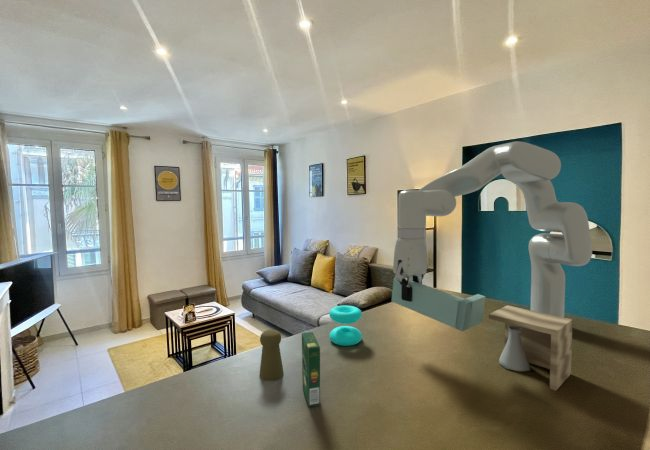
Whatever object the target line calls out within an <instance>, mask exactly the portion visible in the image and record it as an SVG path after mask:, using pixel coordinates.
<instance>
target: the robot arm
mask: <svg viewBox="0 0 650 450" xmlns="http://www.w3.org/2000/svg"><path fill="white" fill-rule="evenodd" d="M561 168H562V162H561V159H560V158H559V156H558V154H556V153H555V152H553V151H551V150H549V149H546V148H543V147H541V146H538V145H536V144H532V143H528V142H525V141H517V140H516V141H512V142H511V141H510V142H506V143H502V144H498V145H493V146H491V147H488V148H487V149H485V150H484V151H482V152H481V153H479V154H477V155H476V156H475V157H474V158H472V159H471V160H469V161H468V162H466V163H465V164H463V165H462V166H460V167H458V168H456V169H454V170H452V171H449V172H448V173H446V174H444V175H441V176H439V177H437V178H436V179H433V180H432V181H429V183H427V184H425V185H424V186H422V187H420V188H419V189H418V190H417V189H412V190H411V189H407V190H402V191H400V192H399V193H398V199H397V201H398V202H397V209H398V212H397V219H398V220H397V239H396V241H395V246H394V253H393V267H392V269H393V271H392V272H393V274H394V278H395V279H396V280H398V281H399V282H400V286H402V294H401V298H402V300H405V301H409V302H411V301H412V287H411V281H414V282H417V283H420V284H423V279H424V277H425V275H426V274H427V273H428V271H427V270H428V249H427V242H426V241H427V238H426V237H427V232H426V231H427V217H428V216H429V217H446V216H449V215H450V214H452V213H453V212H454V211H455V209H456V207H457V199H456V197H459V196H463V195H464V196H465V195H468V194H471V193H474V192H476V191H479V190H480V189H482V188H483V187H484V186H486V185H488V184H489V183H490V182H491V181H492V180H494V179H495V178H497V177H499V176H500V175H501V174H502V177H503V178H504V179H505V180H507V181H508V182H511V183H513V184H515V185H516V186H517V187H518V188H519V189H520V191H521V192H522V194H523V198H524V202H525V208H526V214H527V218H528V223H529V226H530V227H531V228H532V229H534V230H536V231H542V232H543V233H538V234H535V235H534V236H532V237H531V238H530V240H529V241H528V253H529V254H528V255H529V260H530V268H531V270H530V272H531V275H530V278H531V279H530V308H529V310H532V311H536V312H541V313H545V314H550V315H555V316H559V317H564V318H565V302H566V301H565V300H566V299H565V298H566V295H565V294H566V274H565V271H564V269H563V266H562V265H566V266H571V267H582V266H585V265H587V264H588V263H590V261H591V259H592V256H593V245H592V239H591V232H590V225H589V218H588V214H587V212H586V210H585V208H584V207H583V206H582V205H580V204H579V203H577V202H569V201H563V202H562V201H560V202H559V201H558V200H557V196H556V192H555V188H554V185H553V182H552V181H551V180H553V179H554V178H556V177H558V175H559V173H560V172H561ZM544 232H548V233H544ZM550 232H553V233H550ZM558 233H559V234H558ZM560 233H561V234H560ZM406 279H407V280H406Z"/></svg>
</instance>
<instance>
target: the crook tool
mask: <svg viewBox="0 0 650 450" xmlns="http://www.w3.org/2000/svg"><path fill="white" fill-rule="evenodd" d="M405 279H406V280H407V278H405ZM392 281H393V282H392V283H393V284H392V291H391V303H395V304H396V305H399V306H401V307H404V308H406V309H409V310H411V311H414V312H415V313H418V314H420V315H422V316H425V317H428V318H430V319H432V320H435V321H437V322H439V323H442V324H444V325H446V326H449V327H451V328H454V329H455V330H458V331H461V332H465V331H466V330H468V329H471V328H473V327H474V326H477V325H479V324H481V323H483V318H484V310H485V305H486V298H487V296H485V295H482V294H481V293H477V294H473V295H471V296H468V297H467V298H466V297H465V298H464V297H461V296H458V295H455V294H452V293H449V292H446V291H444V290H440V289H438V288H435V287H432V286H428V285H426V284H423V283H422V284H420V283H417V282H414V281H411V287H412V301H411V302H409V301H405V300H402V298H401V294H402V286H400V282H399V281H398V280H396V279H395V277H394V278H393V280H392Z"/></svg>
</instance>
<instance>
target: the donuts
mask: <svg viewBox="0 0 650 450" xmlns="http://www.w3.org/2000/svg"><path fill="white" fill-rule="evenodd" d="M362 316H363V314H362V310H361V309H360V308H358V307H356V306H354V305H347V304H345V305H338V306H334V307H332V308H331V309H330V310H329V317H330V319H331V320H332V321H334V322H335V323H338V324H343V325H340V326H337V327H335V328H333V329H332V330H331V331H330V333H329V339H330V341H331V342H332V343H333V344H335V345H338V346H342V347H343V346H344V347H345V346H346V347H350V346H354V345H357V344H359V342H361V341H362V338H363V334H362V332H361V331H360V330H359V329H358V328H356V327H354V326H351V325H350V324H353V323H357V322H358V321H359V320H361V318H362ZM344 324H345V325H344ZM347 324H348V325H347Z"/></svg>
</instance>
